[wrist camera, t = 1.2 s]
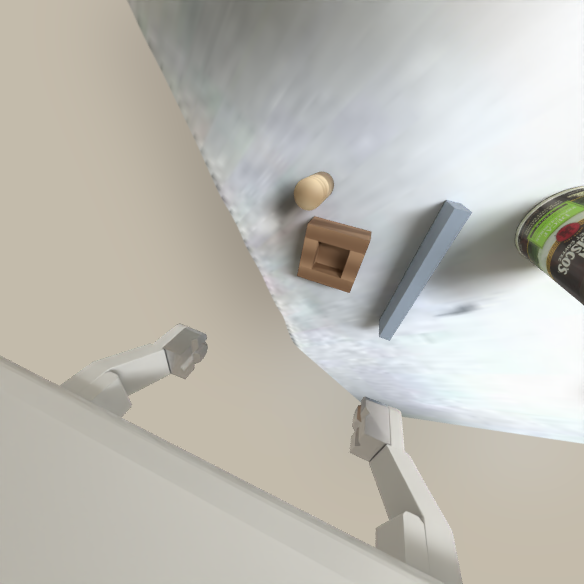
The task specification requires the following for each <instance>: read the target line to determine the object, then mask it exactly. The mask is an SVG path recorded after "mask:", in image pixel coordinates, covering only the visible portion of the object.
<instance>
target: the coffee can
mask: <svg viewBox="0 0 584 584" xmlns="http://www.w3.org/2000/svg"><path fill="white" fill-rule="evenodd" d="M515 243H516V247H517V249H518V251H519V252H520V253H521V254H522V255H523V256H524V257H525V258H527V259H529V260H530V261H531V262H532V263H533V264H535V265H536V266H537V267H538V268H539V269H541V270H542V271H543V272H544V273H546V274H547V275H548V276H549V277H551V278H552V279H553V280H554V281H555V282H557V283H558V284H559V285H560V286H561V287H562V288H564V289H565V290H566V291H567V292H568V293H570V294H571V295H572V296H573V297H575V298H576V299H577V300H578V301H579V302H581V303H582V304H583V305H584V186H580V187H576V188H572V189H568V190H565V191H562V192H560V193H558V194H556V195H553V196H551V197H549V198H548V199H546V200H544V201H543V202H541V203H540V204H539V205H537V206H536V207H535V208H533V209H532V210H531V211H530V212H529V213H528V214H527V215H526V216H525V218H524V219H523V220H522V222H521V223H520V225H519V227H518V229H517V232H516V237H515Z"/></svg>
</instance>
